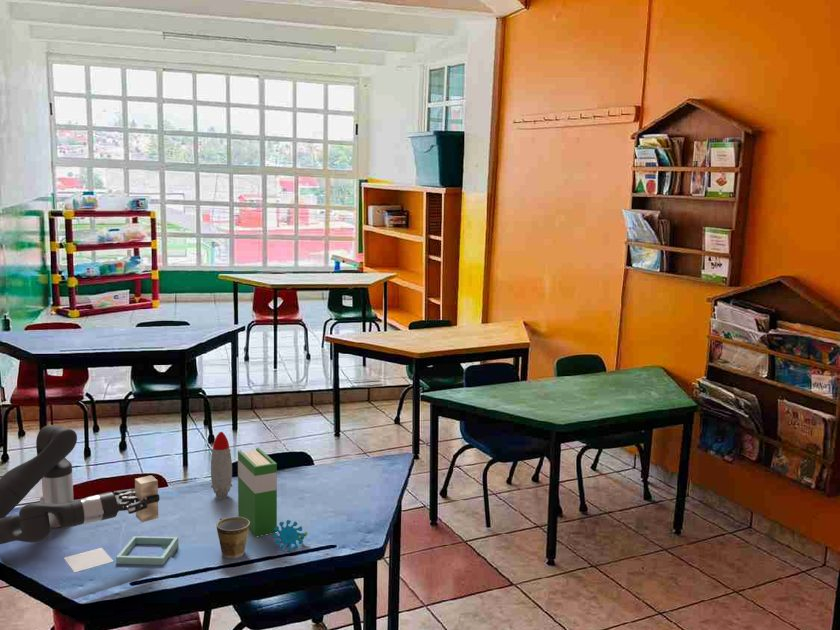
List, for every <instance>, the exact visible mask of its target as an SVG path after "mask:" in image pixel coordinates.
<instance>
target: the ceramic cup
mask: <svg viewBox="0 0 840 630" xmlns="http://www.w3.org/2000/svg"><path fill="white" fill-rule="evenodd" d="M249 525H250V522H249V520H248V519H246V518H243V517H238V516H229V517H225V518H224V517H221V518H219V521H218V522H217V523H216V531H217V537H218V540H219V546H220V550H221V555H222V556H223V557H225V558H226V559H238V558H241V557H243V555H244V553H245V551H246V546H247V540H248V539H247V538H248V535H249V532H250V530H249Z"/></svg>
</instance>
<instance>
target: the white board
mask: <svg viewBox="0 0 840 630" xmlns="http://www.w3.org/2000/svg"><path fill="white" fill-rule="evenodd" d="M63 559H64V561H65V563H67V564H68V565H69V567H70V568H71V570H72V571H73V573H77V572H81V571H85V570H88V569H89V570H90V569H92V568H95V567H99V566H103V565H106V564H110V563H113V562H114V560H113V559H112V558H111V556H110V555H109V554H108V553H107V552H106V551H105V550H104V548H103V547H100V548H95V549H91V550H88V551H84V552H81V553H77V554H72V555H69V556H68V555H67V556H66V557H65V556H64V557H63Z"/></svg>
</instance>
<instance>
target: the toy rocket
mask: <svg viewBox="0 0 840 630" xmlns="http://www.w3.org/2000/svg"><path fill="white" fill-rule="evenodd" d="M231 451H232V450H231V449H230V444H229V440H228V438H227V435H225V433H224V432H223V431H219V432H218V434H217V435H216V436H215V438H214V441H213V444H212V449H211V458H210V477H211V478H210V480H211V485H210V487H211V488H212V490H213V493H214V494H215V497H217V498H216V499H218V498H219V500H222V499H223V498H224V499H227V498H228V494H229V492H230V490H231V487H233V484H232V482H233V481H232V479H233V463H232V455H231V454H232V453H231ZM224 499H223V500H224Z"/></svg>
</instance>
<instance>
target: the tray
mask: <svg viewBox="0 0 840 630" xmlns="http://www.w3.org/2000/svg"><path fill="white" fill-rule="evenodd" d="M136 544H138V545H139V544H140V545H158V546H159V547H160V548H161V549H162V550H163V553H162V555H161V556H153V555H151V556H149V555H128V554H129V553H130V552H131V550H132V549H133V548H134V547H135V545H136ZM178 549H179V536H153V535H152V536H149V535H147V536H146V535H143V536H142V535H133V536H132V538H131V539H129V541H128V542H127V543H126V545H125V546H124V547H123V548H122V549H121V551H120V552H119V553H118V554H116V555H117V556H115V564H116V565H117V564H118V565H153V566H155V565H157V566H158V565H163V566H164V565H165V563H166V562H167V560H168V559H169V558H172V557H174V555H175V554H176V552H177V550H178Z"/></svg>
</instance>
